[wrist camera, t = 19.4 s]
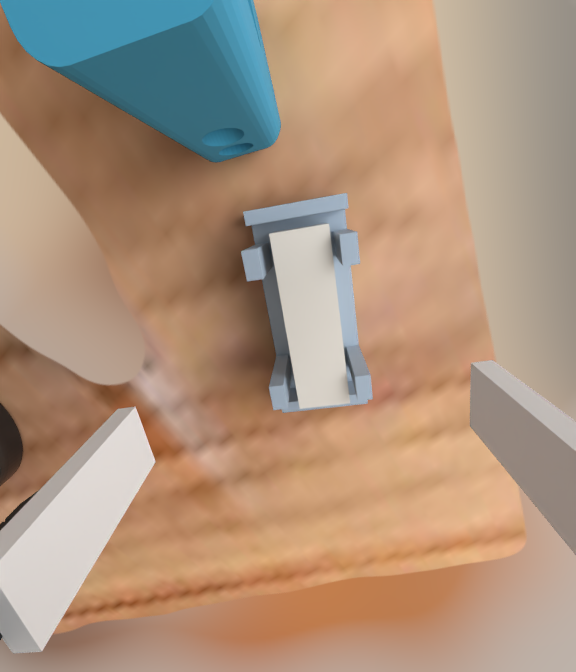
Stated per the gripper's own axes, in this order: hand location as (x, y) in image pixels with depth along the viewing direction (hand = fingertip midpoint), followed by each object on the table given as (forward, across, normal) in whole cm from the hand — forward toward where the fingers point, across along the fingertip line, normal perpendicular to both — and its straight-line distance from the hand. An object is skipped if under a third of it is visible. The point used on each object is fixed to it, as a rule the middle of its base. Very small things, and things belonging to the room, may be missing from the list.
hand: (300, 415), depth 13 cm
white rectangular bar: (+17, +1, 0) cm, 17 cm away
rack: (+18, +1, 0) cm, 18 cm away
